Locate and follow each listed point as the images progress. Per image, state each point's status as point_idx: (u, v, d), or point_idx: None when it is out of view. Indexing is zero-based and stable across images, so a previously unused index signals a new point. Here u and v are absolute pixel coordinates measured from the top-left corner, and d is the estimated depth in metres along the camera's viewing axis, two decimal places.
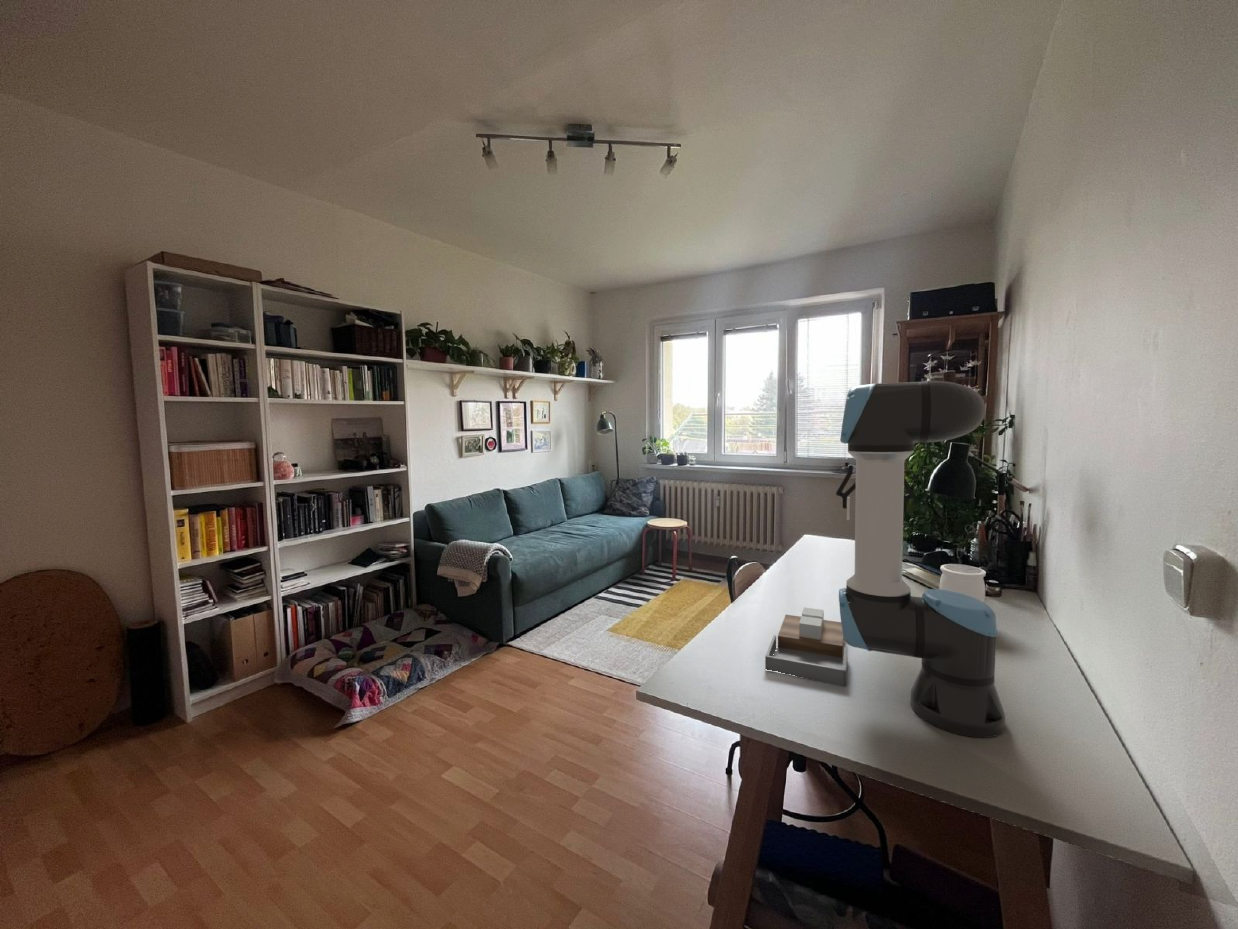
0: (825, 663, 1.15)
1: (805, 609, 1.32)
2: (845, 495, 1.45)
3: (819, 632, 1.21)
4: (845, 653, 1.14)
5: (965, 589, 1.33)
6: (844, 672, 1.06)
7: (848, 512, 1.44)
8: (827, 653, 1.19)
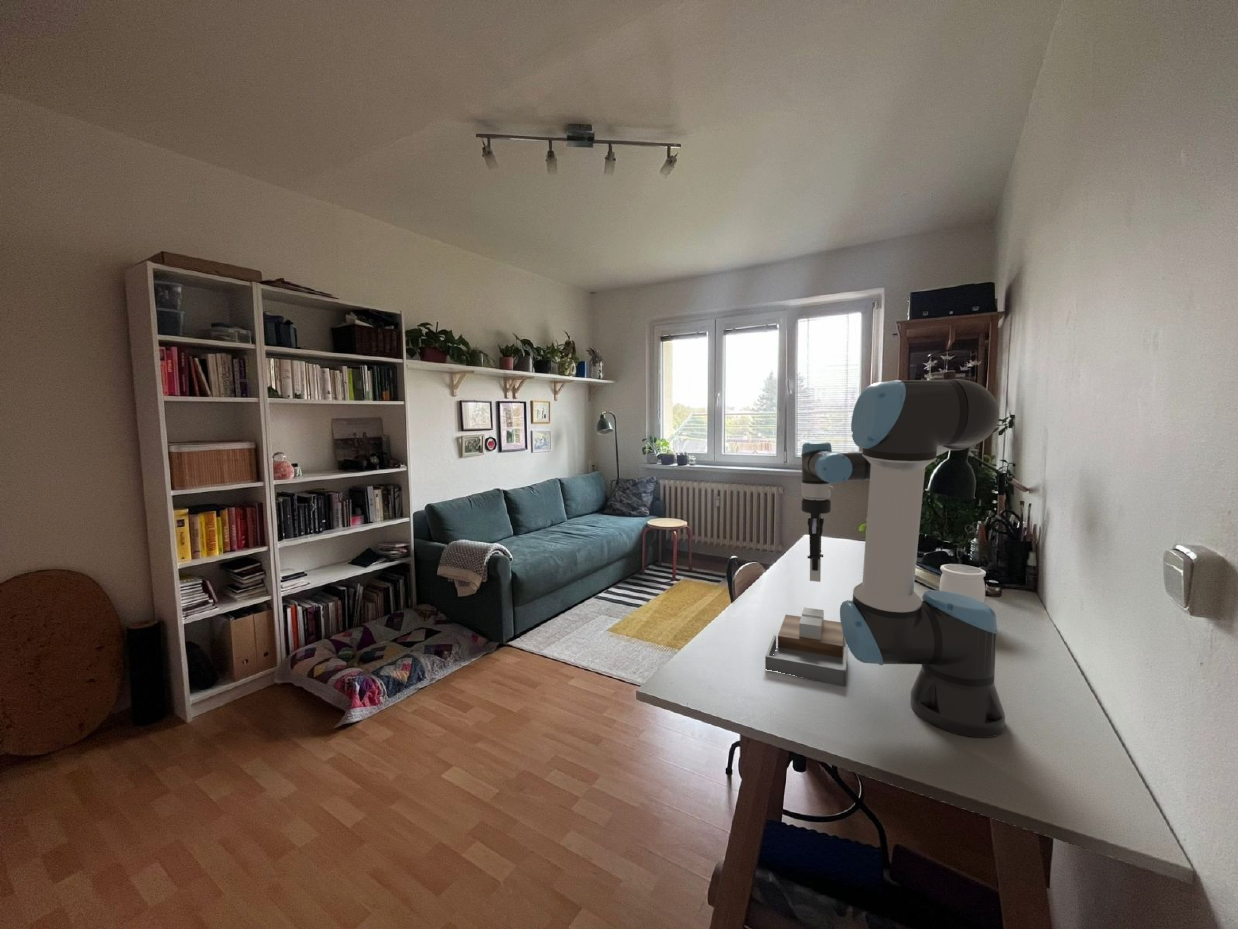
0: (825, 663, 1.15)
1: (805, 609, 1.32)
2: None
3: (819, 632, 1.21)
4: (845, 653, 1.14)
5: (965, 589, 1.33)
6: (844, 672, 1.06)
7: (810, 571, 1.38)
8: (827, 653, 1.19)
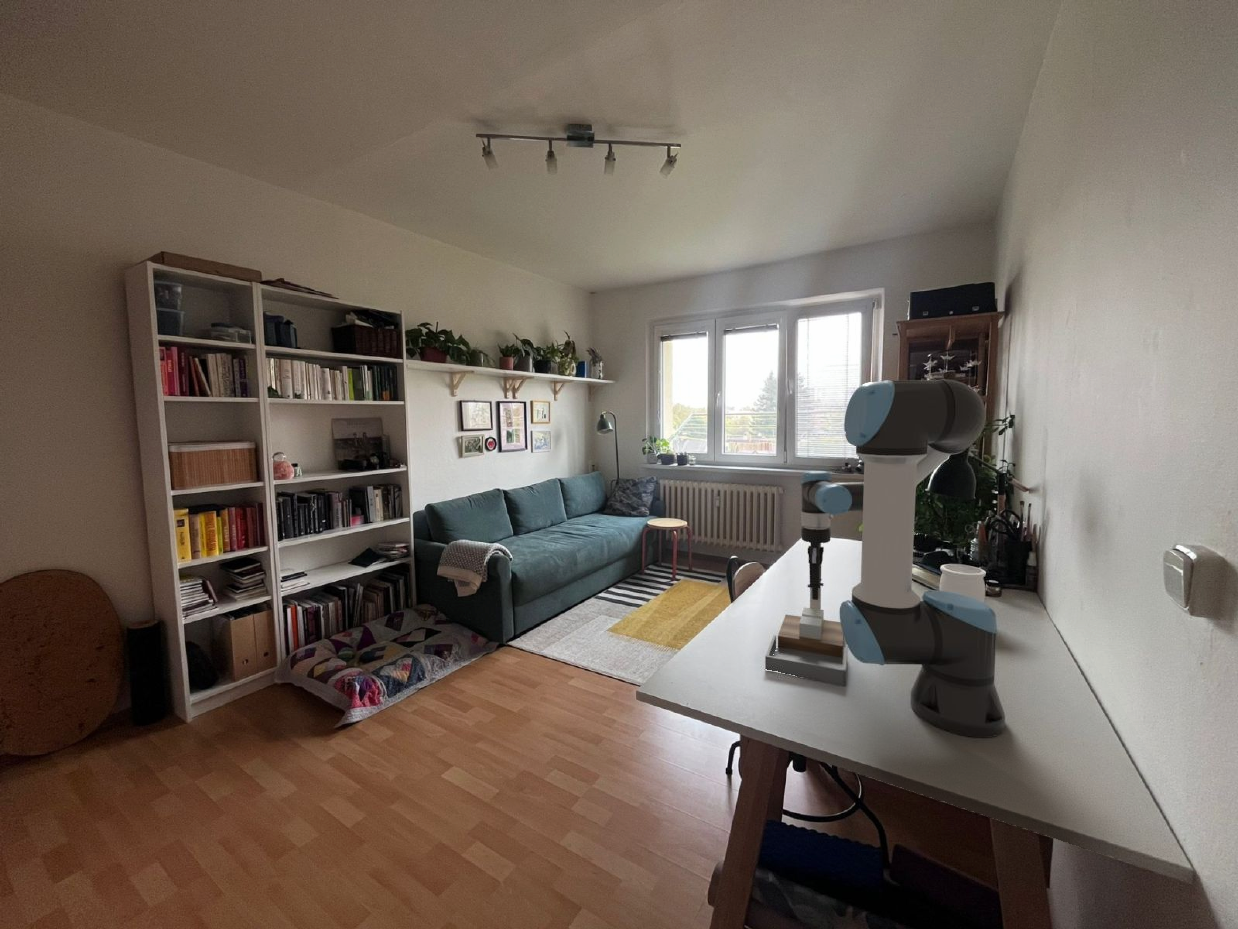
0: (825, 663, 1.15)
1: (805, 609, 1.32)
2: None
3: (819, 632, 1.21)
4: (845, 653, 1.14)
5: (965, 589, 1.33)
6: (844, 672, 1.06)
7: (810, 600, 1.38)
8: (827, 653, 1.19)
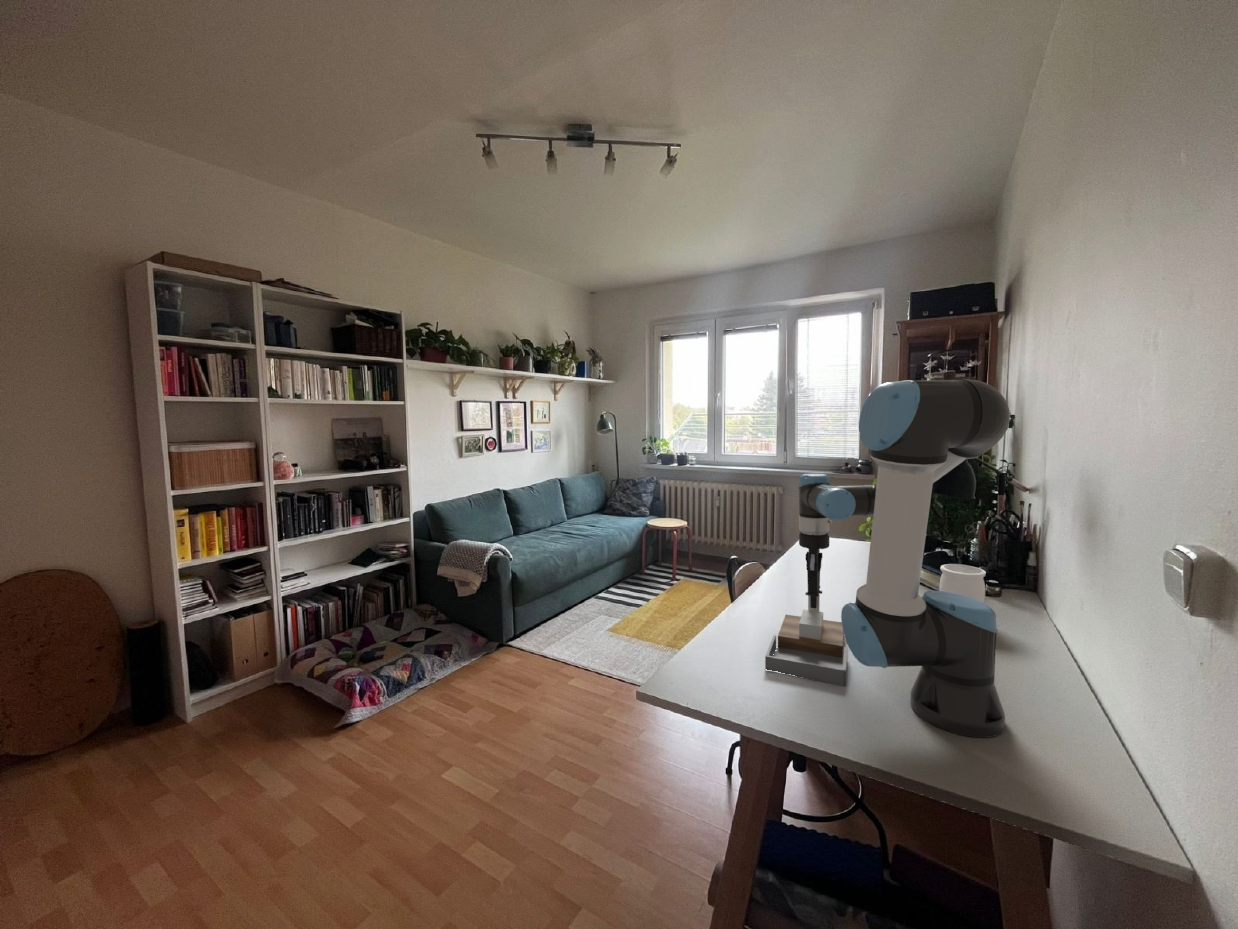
0: (825, 663, 1.15)
1: (804, 611, 1.30)
2: None
3: (819, 632, 1.21)
4: (845, 653, 1.14)
5: (965, 589, 1.33)
6: (844, 672, 1.06)
7: None
8: (827, 653, 1.19)
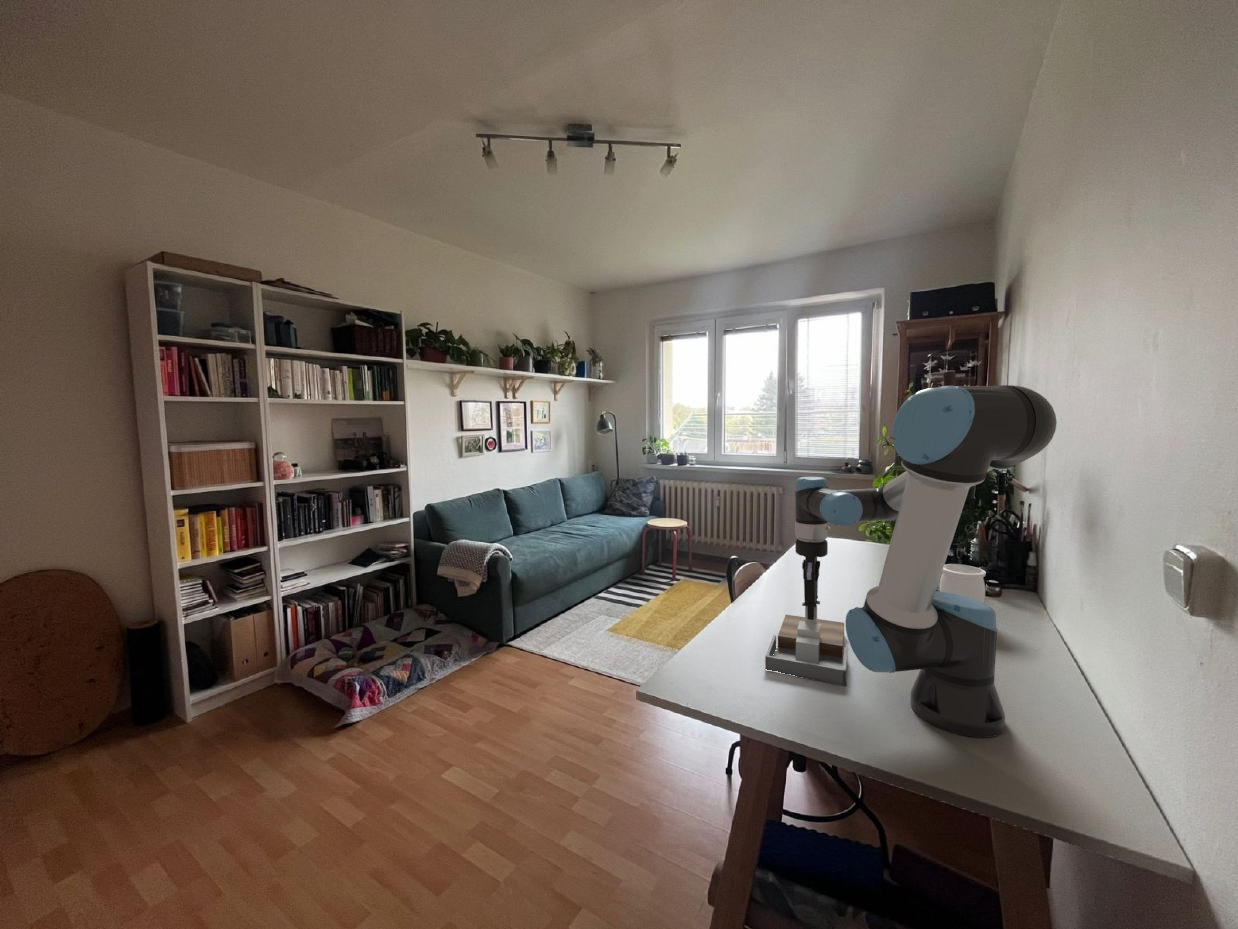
0: (825, 663, 1.15)
1: (801, 623, 1.23)
2: None
3: None
4: (845, 653, 1.14)
5: (965, 589, 1.33)
6: (844, 672, 1.06)
7: None
8: (827, 653, 1.19)
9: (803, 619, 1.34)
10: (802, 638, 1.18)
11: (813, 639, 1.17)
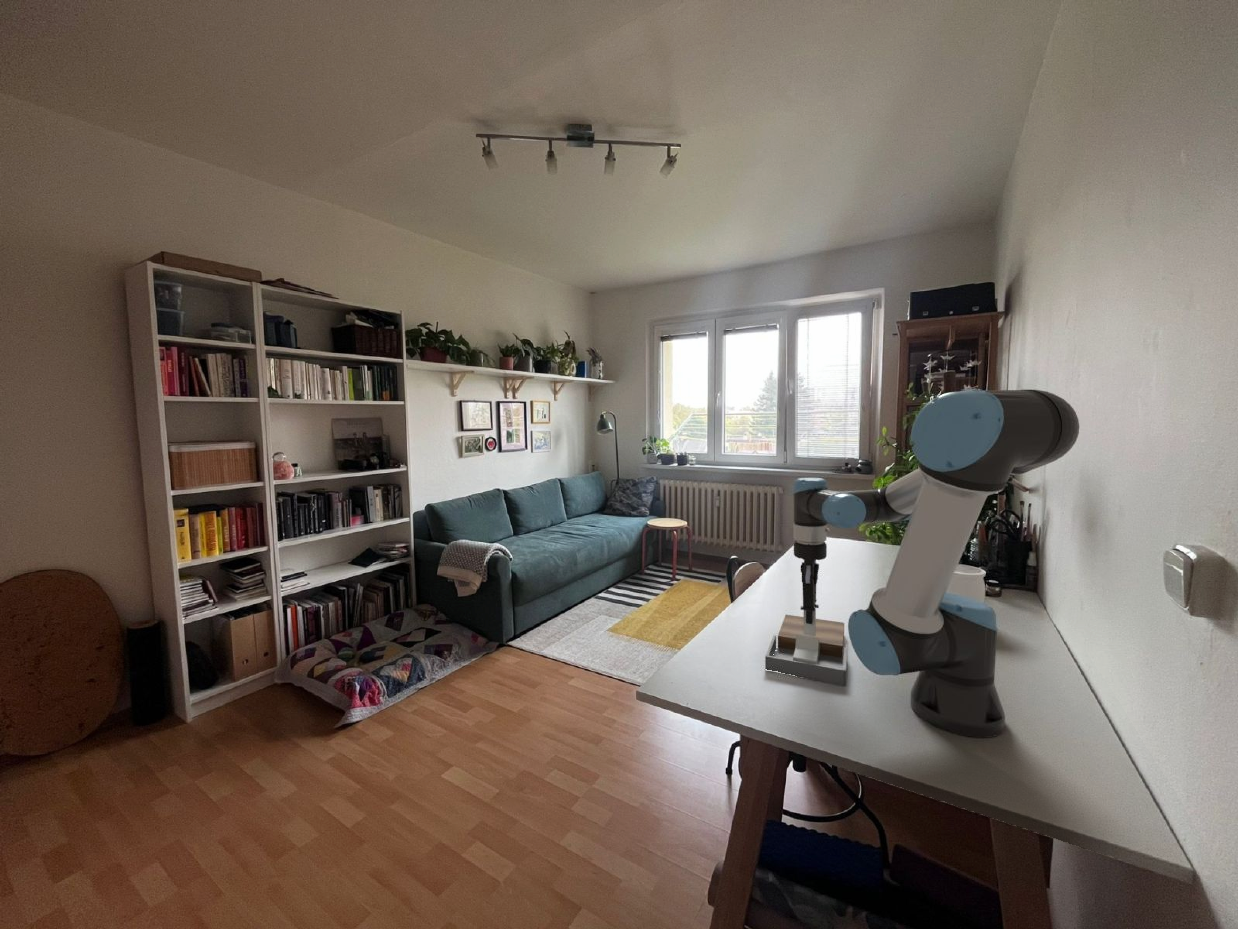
0: (825, 663, 1.15)
1: None
2: None
3: None
4: (845, 653, 1.14)
5: (965, 589, 1.33)
6: (844, 672, 1.06)
7: None
8: (827, 653, 1.19)
9: (803, 619, 1.34)
10: None
11: None
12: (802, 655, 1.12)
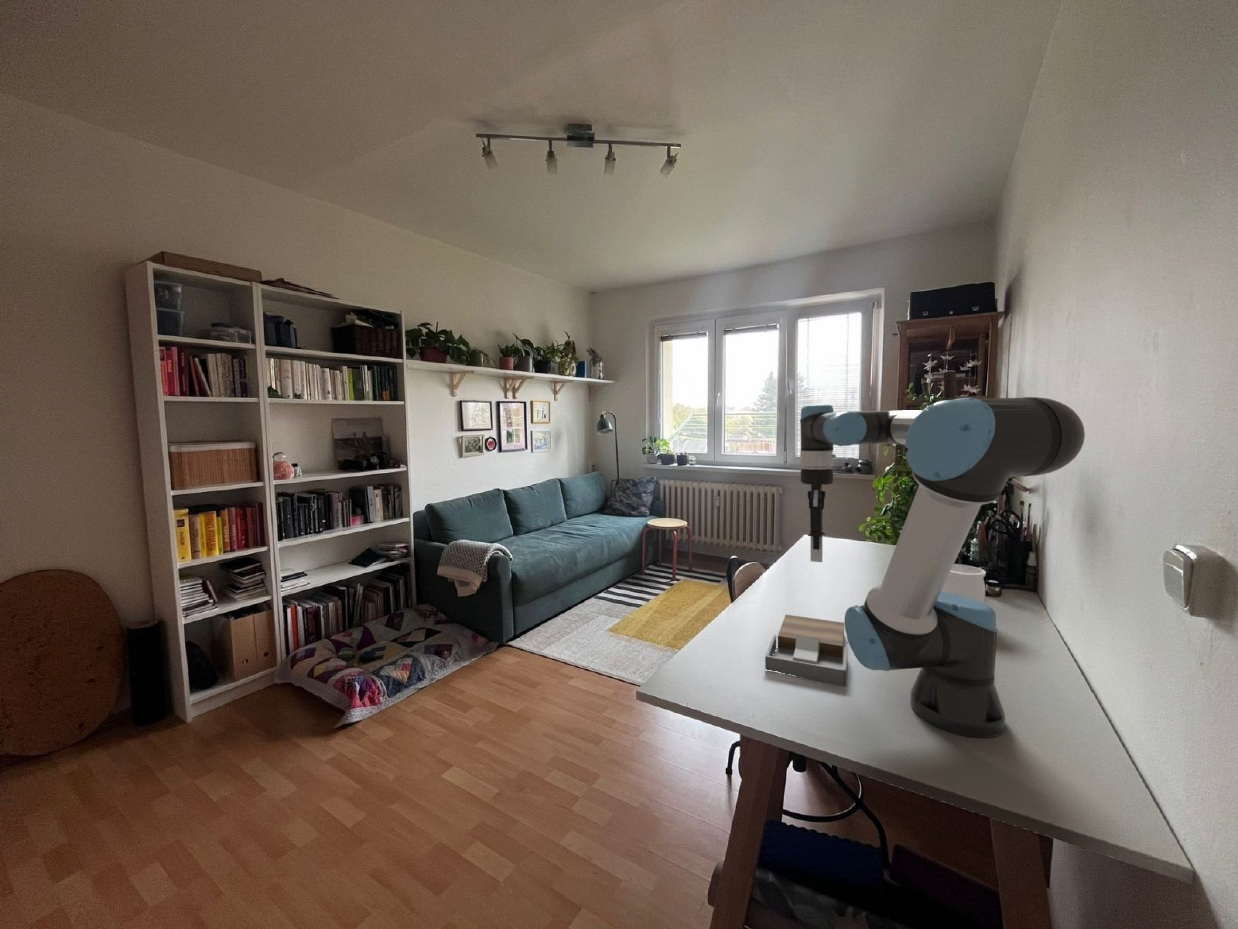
0: (825, 663, 1.15)
1: None
2: None
3: None
4: (845, 653, 1.14)
5: (965, 589, 1.33)
6: (844, 672, 1.06)
7: None
8: (827, 653, 1.19)
9: (803, 619, 1.34)
10: None
11: None
12: (802, 655, 1.12)
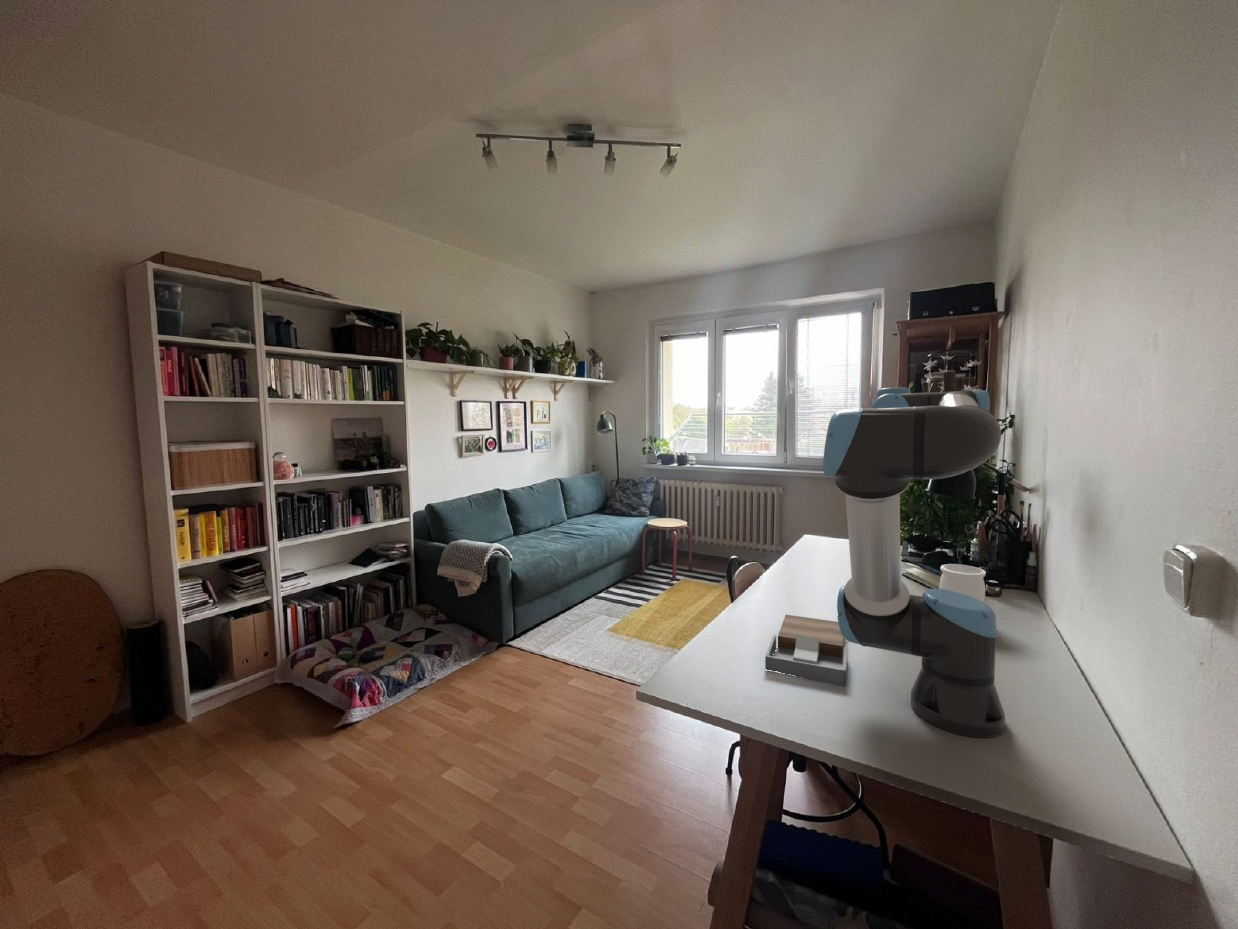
0: (825, 663, 1.15)
1: None
2: None
3: None
4: (845, 653, 1.14)
5: (965, 589, 1.33)
6: (844, 672, 1.06)
7: None
8: (827, 653, 1.19)
9: (803, 619, 1.34)
10: None
11: None
12: (802, 655, 1.12)
